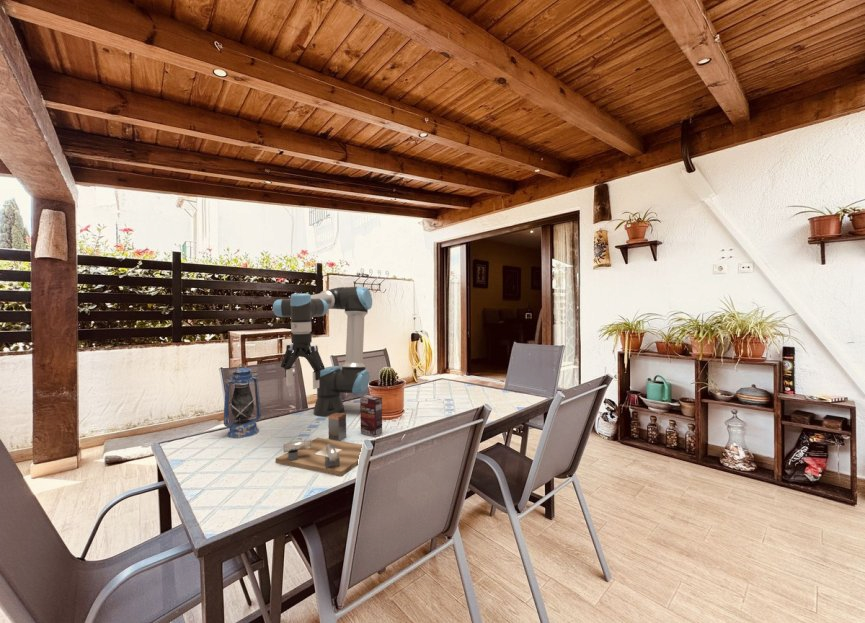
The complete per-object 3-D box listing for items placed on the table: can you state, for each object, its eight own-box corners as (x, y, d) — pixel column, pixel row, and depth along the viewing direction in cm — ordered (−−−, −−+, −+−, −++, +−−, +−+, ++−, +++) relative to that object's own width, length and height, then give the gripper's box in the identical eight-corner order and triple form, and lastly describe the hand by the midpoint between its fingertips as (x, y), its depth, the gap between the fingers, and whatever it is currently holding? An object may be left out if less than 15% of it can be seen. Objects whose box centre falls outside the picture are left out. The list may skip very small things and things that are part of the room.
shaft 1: (310, 453, 135) (310, 438, 135) (311, 457, 131) (311, 442, 131) (283, 457, 132) (283, 442, 132) (283, 462, 128) (283, 446, 128)
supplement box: (360, 434, 159) (359, 397, 159) (367, 430, 163) (367, 394, 163) (375, 437, 154) (374, 399, 154) (383, 434, 158) (382, 396, 158)
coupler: (336, 436, 157) (335, 412, 157) (346, 437, 155) (346, 413, 155) (328, 440, 152) (328, 415, 152) (338, 442, 150) (338, 417, 150)
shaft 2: (323, 459, 129) (323, 444, 129) (336, 457, 131) (336, 442, 131) (326, 470, 121) (326, 454, 121) (340, 468, 122) (340, 451, 122)
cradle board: (317, 441, 151) (317, 436, 151) (377, 450, 140) (377, 446, 140) (275, 462, 131) (275, 457, 131) (341, 476, 120) (341, 470, 120)
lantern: (230, 441, 152) (228, 368, 151) (218, 434, 160) (216, 365, 159) (267, 431, 164) (265, 363, 163) (255, 425, 172) (253, 360, 171)
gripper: (270, 333, 148) (271, 386, 148) (319, 334, 137) (321, 391, 138) (285, 331, 154) (286, 382, 155) (333, 332, 144) (334, 387, 145)
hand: (302, 387), depth 146 cm, fingers open, 13 cm apart
